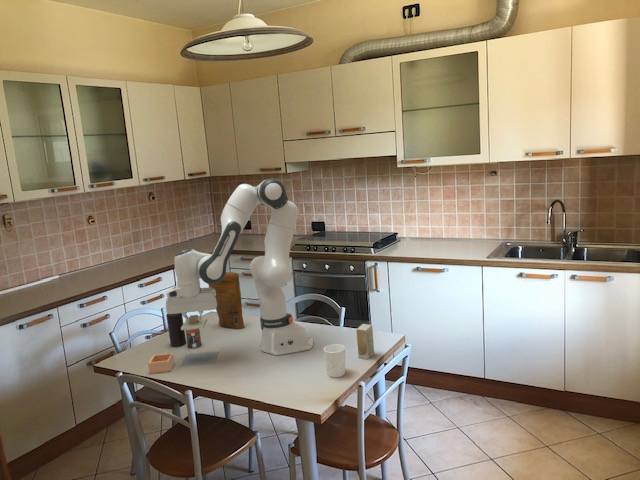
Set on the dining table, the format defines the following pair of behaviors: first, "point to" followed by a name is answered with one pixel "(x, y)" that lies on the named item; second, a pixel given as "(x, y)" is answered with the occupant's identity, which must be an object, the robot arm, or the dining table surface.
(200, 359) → the mat
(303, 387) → the dining table surface
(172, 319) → the vinegar
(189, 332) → the supplement bottle
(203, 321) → the lid
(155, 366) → the peach storage bin
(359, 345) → the skincare box
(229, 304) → the pancake mix bag
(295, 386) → the dining table surface
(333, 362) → the white cup
